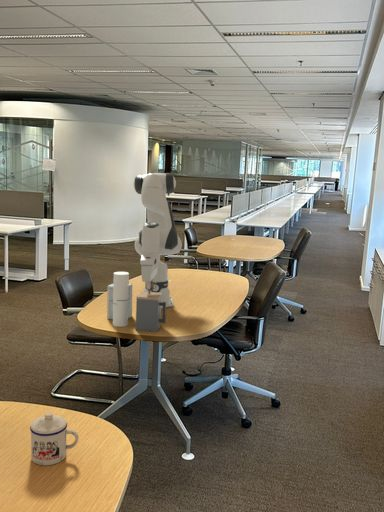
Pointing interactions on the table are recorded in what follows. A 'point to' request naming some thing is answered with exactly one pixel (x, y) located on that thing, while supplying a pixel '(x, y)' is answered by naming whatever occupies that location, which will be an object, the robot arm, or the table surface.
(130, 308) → the supplement box
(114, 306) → the cylindrical container
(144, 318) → the press jug
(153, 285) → the plunger
